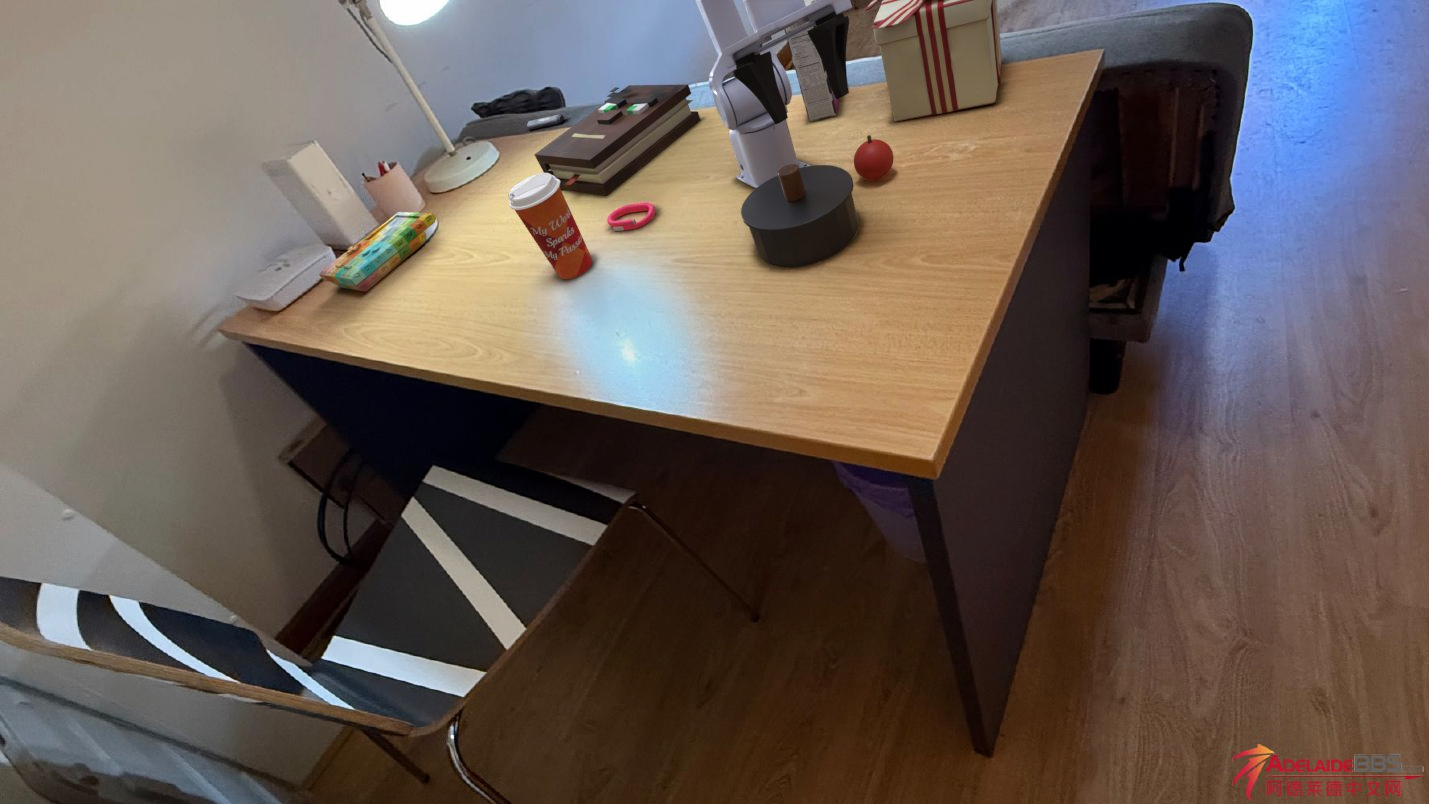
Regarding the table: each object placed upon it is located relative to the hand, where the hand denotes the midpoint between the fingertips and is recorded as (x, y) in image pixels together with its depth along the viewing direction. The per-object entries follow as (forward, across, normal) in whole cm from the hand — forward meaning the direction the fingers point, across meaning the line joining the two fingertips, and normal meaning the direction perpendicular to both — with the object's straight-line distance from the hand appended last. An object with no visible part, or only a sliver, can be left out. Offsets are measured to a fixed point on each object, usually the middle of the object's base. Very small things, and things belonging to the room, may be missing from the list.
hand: (811, 109), depth 77 cm
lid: (+10, -8, +5) cm, 13 cm away
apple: (+10, -3, +18) cm, 21 cm away
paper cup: (+8, -44, 0) cm, 45 cm away
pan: (+15, -10, +6) cm, 19 cm away
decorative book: (-3, -54, +33) cm, 64 cm away
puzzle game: (-3, -92, +2) cm, 92 cm away
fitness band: (+6, -41, +12) cm, 43 cm away
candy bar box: (+3, -18, +42) cm, 46 cm away
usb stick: (-15, -86, +50) cm, 101 cm away
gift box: (+8, 0, +41) cm, 42 cm away
